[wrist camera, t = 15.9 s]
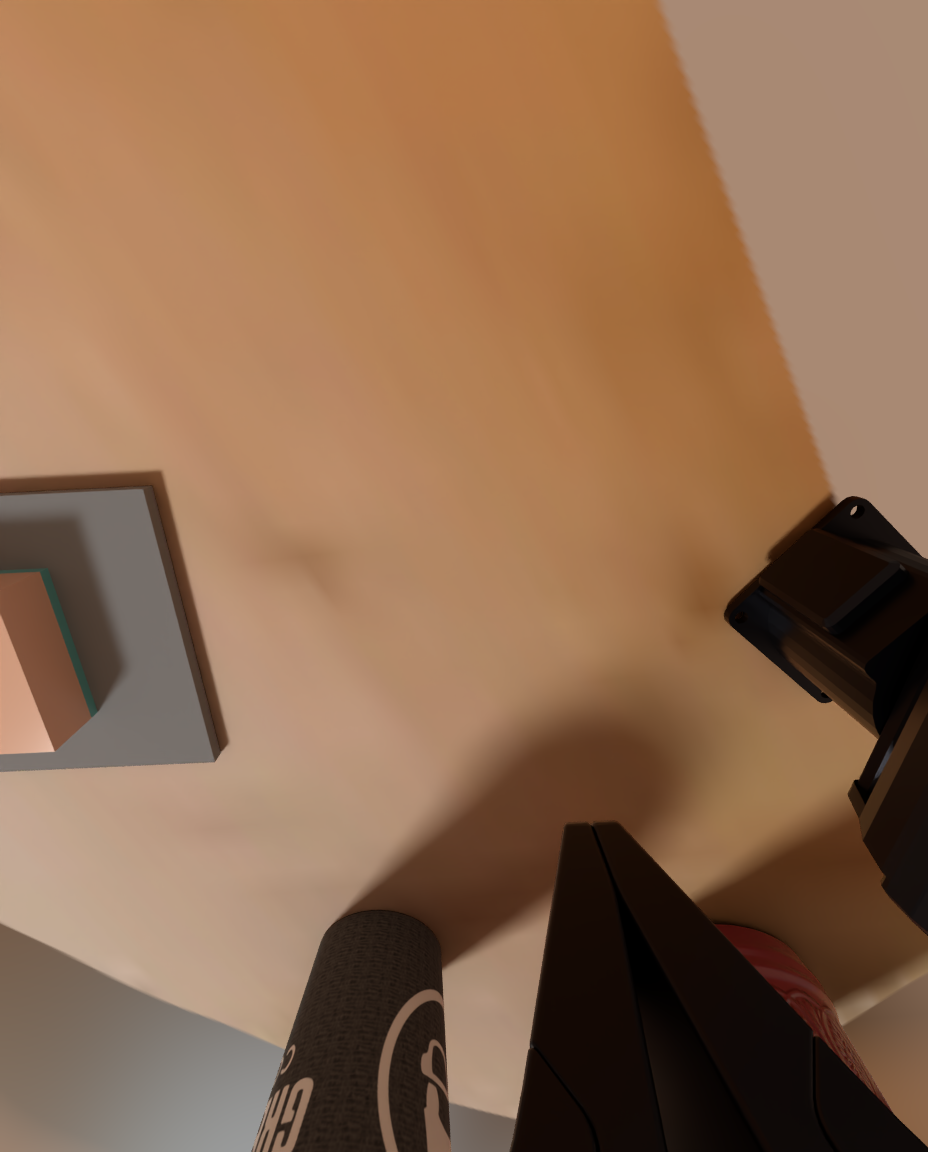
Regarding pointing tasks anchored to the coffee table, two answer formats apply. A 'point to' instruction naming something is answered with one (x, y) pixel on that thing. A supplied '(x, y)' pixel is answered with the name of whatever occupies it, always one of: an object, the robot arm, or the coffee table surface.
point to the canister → (799, 993)
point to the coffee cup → (365, 1046)
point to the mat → (114, 626)
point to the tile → (38, 667)
